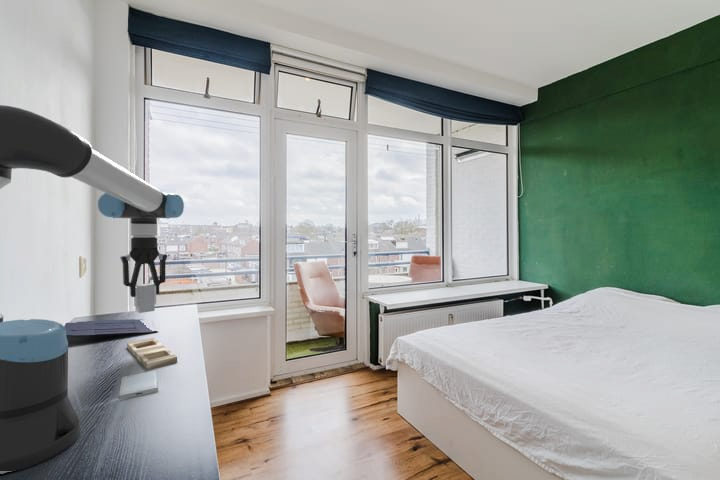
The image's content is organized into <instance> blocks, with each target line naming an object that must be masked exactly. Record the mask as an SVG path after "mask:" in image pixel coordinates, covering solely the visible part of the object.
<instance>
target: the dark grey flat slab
mask: <svg viewBox="0 0 720 480" xmlns="http://www.w3.org/2000/svg"><path fill="white" fill-rule="evenodd" d="M140 320H141V319H105V320H104V319H103V320H99V319H98V320H87V321H76V322H65V324H64V325H63V326H64V327H65V329H66V336H93V335H94V336H95V335H96V336H98V335H109V334H110V335H111V334H128V333H130V334H131V333H155V332H154V331H152V330H150V329H149V328H147V327H146V325H144V323H142V322H141V321H140Z"/></svg>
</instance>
